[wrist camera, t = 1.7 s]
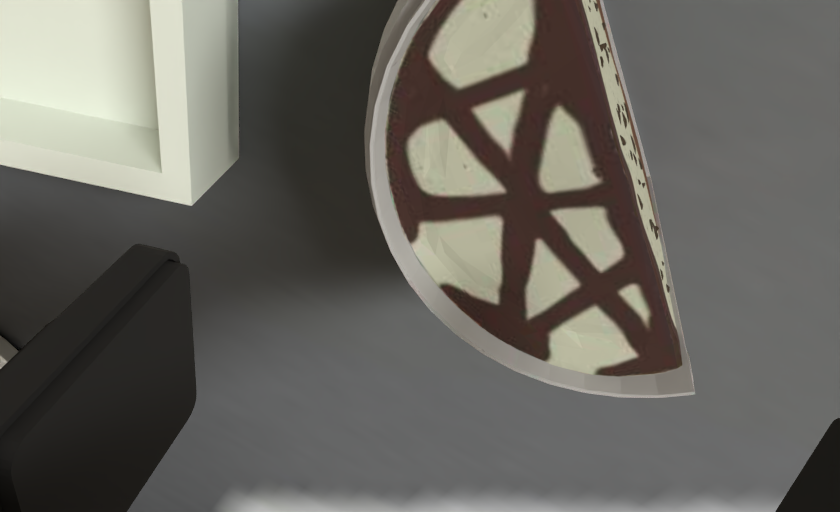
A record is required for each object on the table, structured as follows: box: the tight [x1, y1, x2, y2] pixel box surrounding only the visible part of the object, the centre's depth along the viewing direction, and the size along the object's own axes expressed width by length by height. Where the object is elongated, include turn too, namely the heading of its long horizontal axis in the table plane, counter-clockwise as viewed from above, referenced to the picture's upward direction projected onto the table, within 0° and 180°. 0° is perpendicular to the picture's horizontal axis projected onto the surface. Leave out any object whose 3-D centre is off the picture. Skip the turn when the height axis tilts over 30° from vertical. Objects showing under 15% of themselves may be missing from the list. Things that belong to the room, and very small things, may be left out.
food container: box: [364, 0, 695, 398], centre depth 20 cm, size 12×6×10 cm, turn 22°
